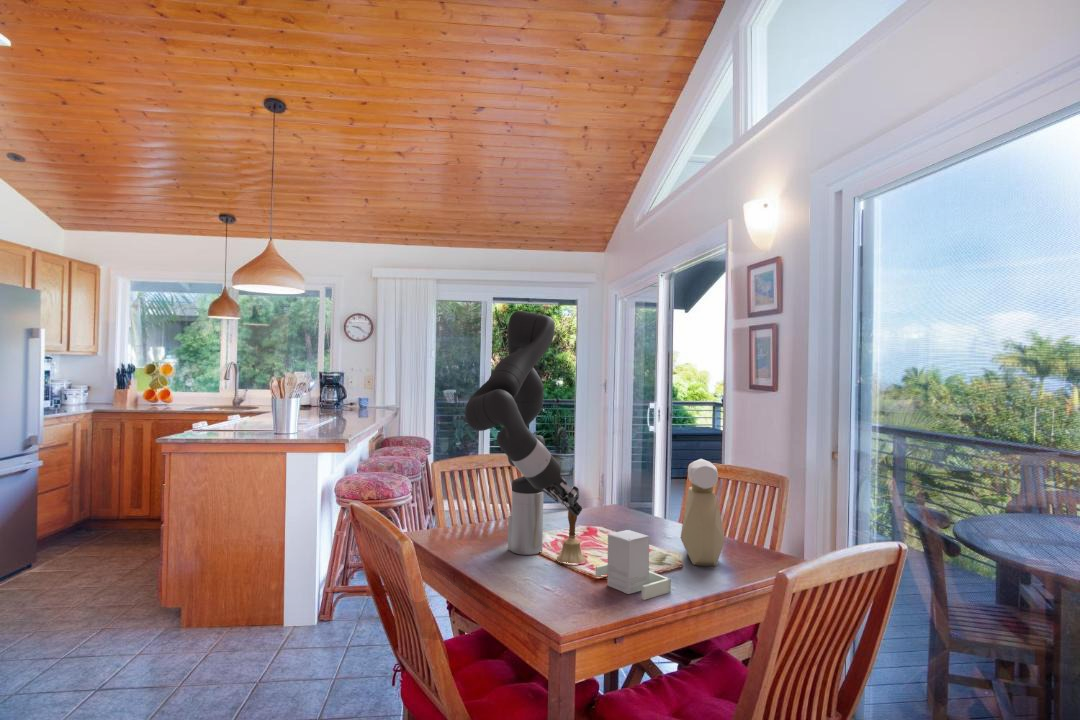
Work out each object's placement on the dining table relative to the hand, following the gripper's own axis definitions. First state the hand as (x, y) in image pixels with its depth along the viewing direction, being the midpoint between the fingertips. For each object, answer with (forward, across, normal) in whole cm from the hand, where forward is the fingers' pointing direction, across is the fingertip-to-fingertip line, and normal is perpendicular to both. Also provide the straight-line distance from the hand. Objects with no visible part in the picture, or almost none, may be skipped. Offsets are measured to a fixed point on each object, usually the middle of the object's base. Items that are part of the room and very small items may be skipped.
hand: (577, 511), depth 132 cm
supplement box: (+26, -1, +3) cm, 26 cm away
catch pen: (+27, 0, +2) cm, 27 cm away
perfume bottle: (+49, +3, -20) cm, 53 cm away
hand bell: (+26, +22, +3) cm, 35 cm away
